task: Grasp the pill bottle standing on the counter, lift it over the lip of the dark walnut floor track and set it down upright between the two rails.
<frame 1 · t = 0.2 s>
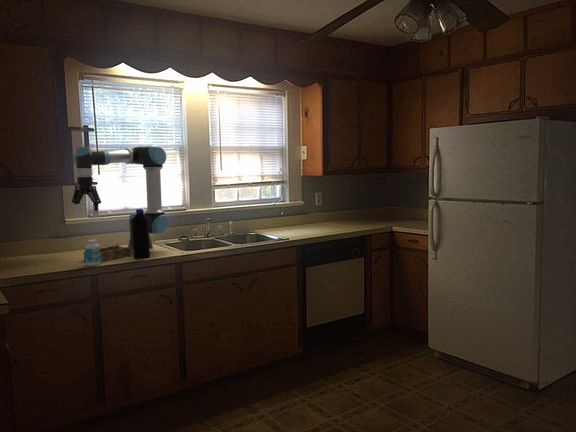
hand: (87, 216, 262), 26 cm above the counter, fingers open, 13 cm apart
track: (109, 257, 287), on the counter
bottle: (142, 257, 285), on the counter
pill bottle: (93, 265, 267), on the counter
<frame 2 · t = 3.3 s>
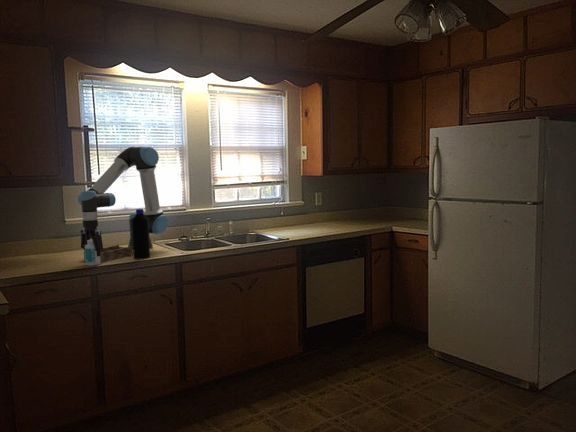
hand: (92, 261, 267), 2 cm above the counter, fingers closed on pill bottle, 7 cm apart
pill bottle: (93, 265, 267), on the counter, touching gripper
everything else where it was.
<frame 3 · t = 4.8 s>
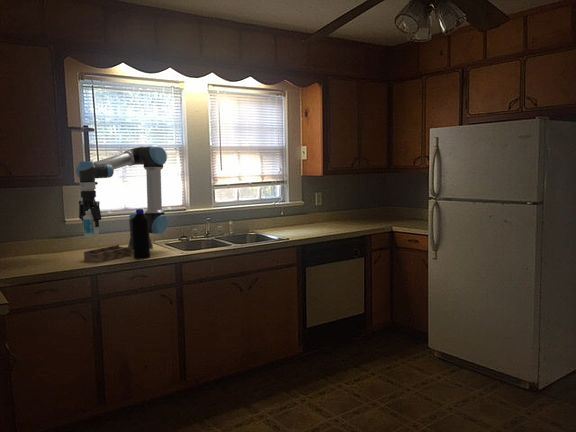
hand: (91, 232, 265), 18 cm above the counter, fingers closed on pill bottle, 7 cm apart
pill bottle: (91, 236, 266), point 16 cm above the counter, touching gripper
everything else where it was.
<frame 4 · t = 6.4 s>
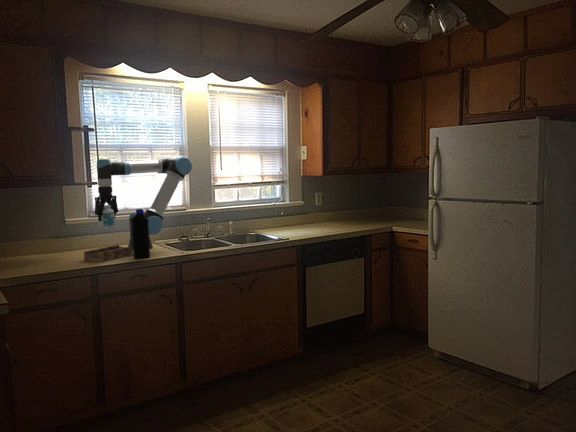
hand: (107, 225, 284), 19 cm above the counter, fingers closed on pill bottle, 7 cm apart
pill bottle: (107, 229, 285), point 17 cm above the counter, touching gripper
everything else where it was.
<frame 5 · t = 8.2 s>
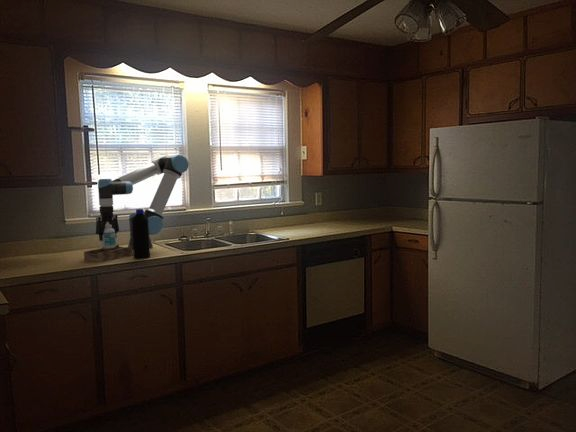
hand: (108, 245, 286), 7 cm above the counter, fingers closed on pill bottle, 7 cm apart
pill bottle: (108, 248, 286), point 5 cm above the counter, touching gripper
everything else where it was.
when the fingers open (6 cm above the counter, at t = 9.4 s): pill bottle drops 2 cm, resting on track.
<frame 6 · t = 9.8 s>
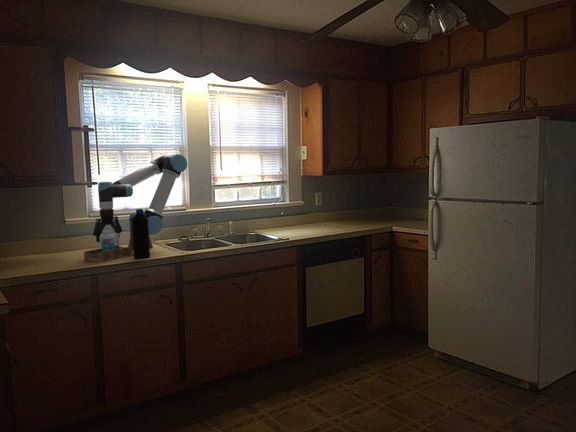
hand: (108, 245, 286), 7 cm above the counter, fingers open, 12 cm apart
pill bottle: (109, 254, 286), point 2 cm above the counter, touching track
everything else where it was.
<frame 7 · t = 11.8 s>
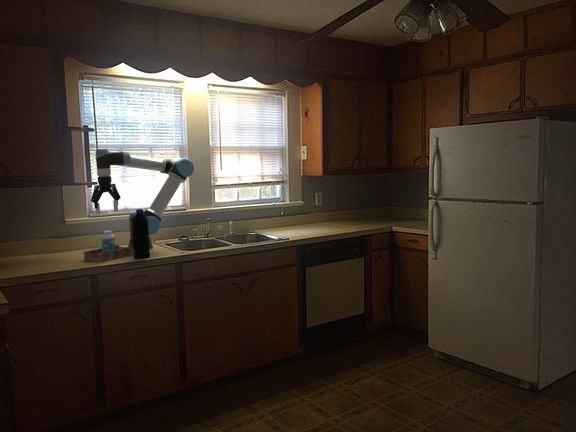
hand: (107, 212, 287), 26 cm above the counter, fingers open, 13 cm apart
nothing on the counter moved.
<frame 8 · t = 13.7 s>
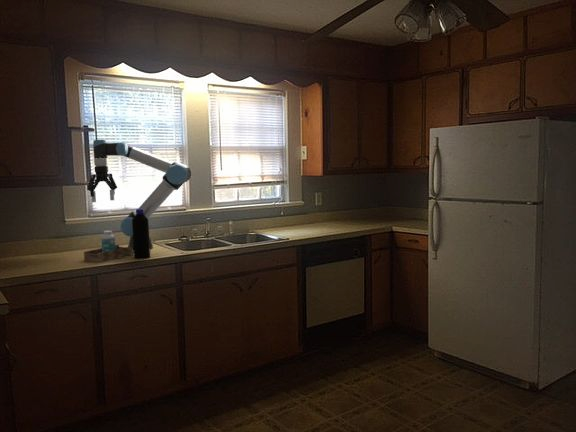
hand: (103, 201, 297), 32 cm above the counter, fingers open, 13 cm apart
nothing on the counter moved.
at the end: pill bottle inside the target area on the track (0.3 cm from its centre), point 1.8 cm above the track's base; pill bottle tilted 0°; the gripper is holding nothing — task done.
